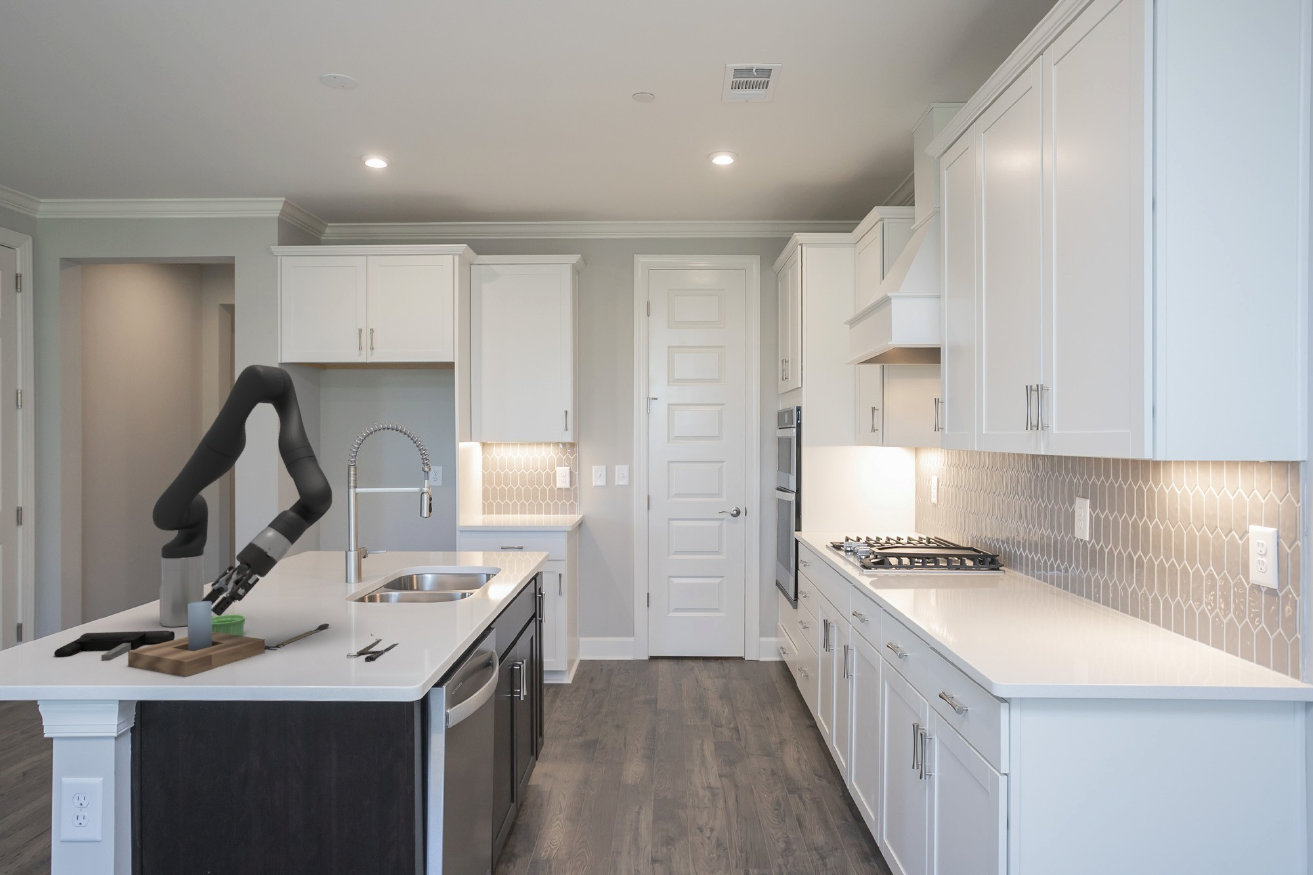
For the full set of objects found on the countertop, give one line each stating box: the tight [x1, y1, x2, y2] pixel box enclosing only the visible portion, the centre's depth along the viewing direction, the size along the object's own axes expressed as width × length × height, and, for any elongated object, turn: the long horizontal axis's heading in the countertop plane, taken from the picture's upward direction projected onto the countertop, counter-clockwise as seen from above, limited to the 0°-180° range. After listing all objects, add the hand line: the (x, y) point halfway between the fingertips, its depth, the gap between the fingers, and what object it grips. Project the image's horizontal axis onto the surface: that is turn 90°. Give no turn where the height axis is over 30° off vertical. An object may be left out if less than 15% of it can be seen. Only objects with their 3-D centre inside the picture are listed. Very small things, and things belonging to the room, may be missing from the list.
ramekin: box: [212, 614, 246, 636], centre depth 181 cm, size 9×9×4 cm
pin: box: [187, 601, 213, 651], centre depth 163 cm, size 4×4×12 cm
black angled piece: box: [53, 630, 176, 662], centre depth 170 cm, size 3×20×16 cm
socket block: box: [127, 632, 266, 677], centre depth 163 cm, size 18×18×3 cm
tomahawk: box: [265, 623, 330, 651], centre depth 180 cm, size 21×7×1 cm, turn 166°
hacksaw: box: [346, 633, 400, 662], centre depth 173 cm, size 24×10×2 cm, turn 177°
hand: (208, 610), depth 164 cm, fingers open, 8 cm apart
